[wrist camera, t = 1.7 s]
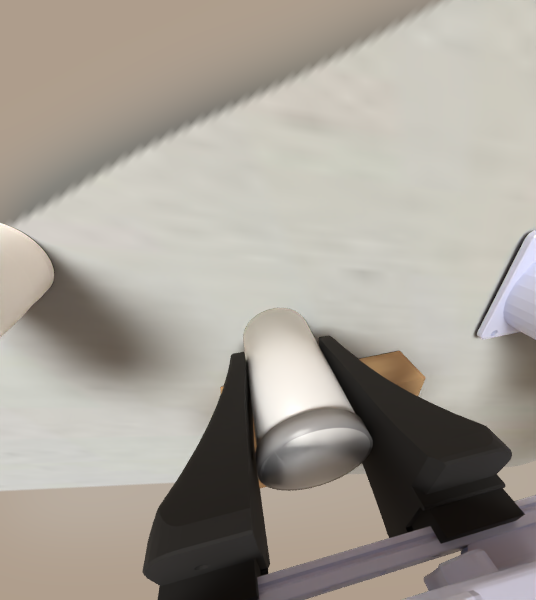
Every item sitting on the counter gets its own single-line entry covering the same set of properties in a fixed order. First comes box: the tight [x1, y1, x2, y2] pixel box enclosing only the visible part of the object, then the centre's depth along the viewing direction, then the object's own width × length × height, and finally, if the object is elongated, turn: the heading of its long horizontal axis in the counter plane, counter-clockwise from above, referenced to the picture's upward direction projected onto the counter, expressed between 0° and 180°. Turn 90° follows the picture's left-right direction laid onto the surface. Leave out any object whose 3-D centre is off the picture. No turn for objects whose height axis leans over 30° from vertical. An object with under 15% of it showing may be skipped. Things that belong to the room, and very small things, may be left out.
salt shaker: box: [243, 308, 373, 491], centre depth 11 cm, size 4×4×7 cm
